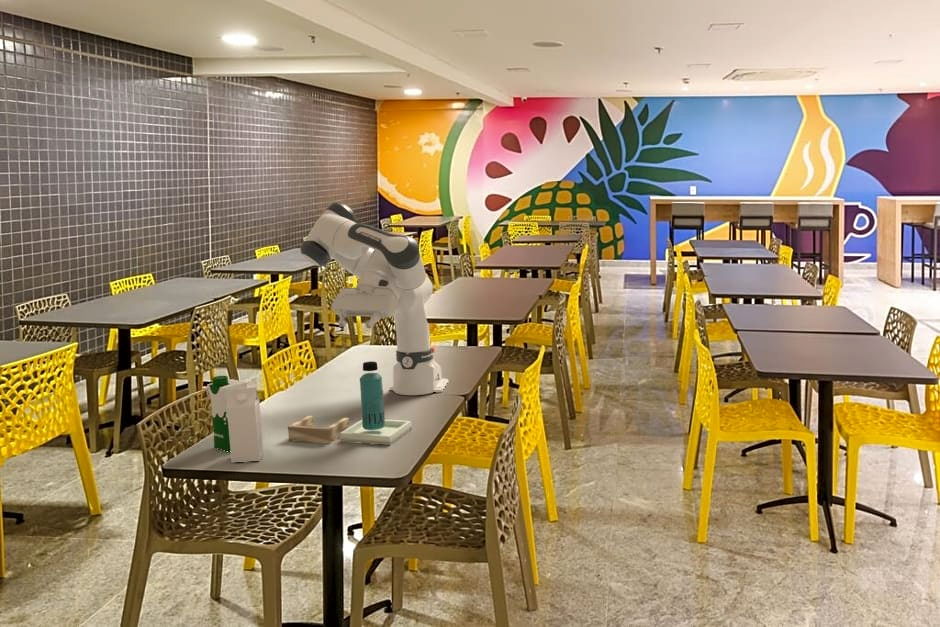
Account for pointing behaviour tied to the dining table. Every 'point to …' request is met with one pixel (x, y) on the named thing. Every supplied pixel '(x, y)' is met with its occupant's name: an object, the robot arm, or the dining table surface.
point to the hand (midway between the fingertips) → (354, 326)
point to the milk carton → (244, 425)
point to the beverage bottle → (372, 398)
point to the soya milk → (221, 408)
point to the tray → (377, 432)
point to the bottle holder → (316, 431)
